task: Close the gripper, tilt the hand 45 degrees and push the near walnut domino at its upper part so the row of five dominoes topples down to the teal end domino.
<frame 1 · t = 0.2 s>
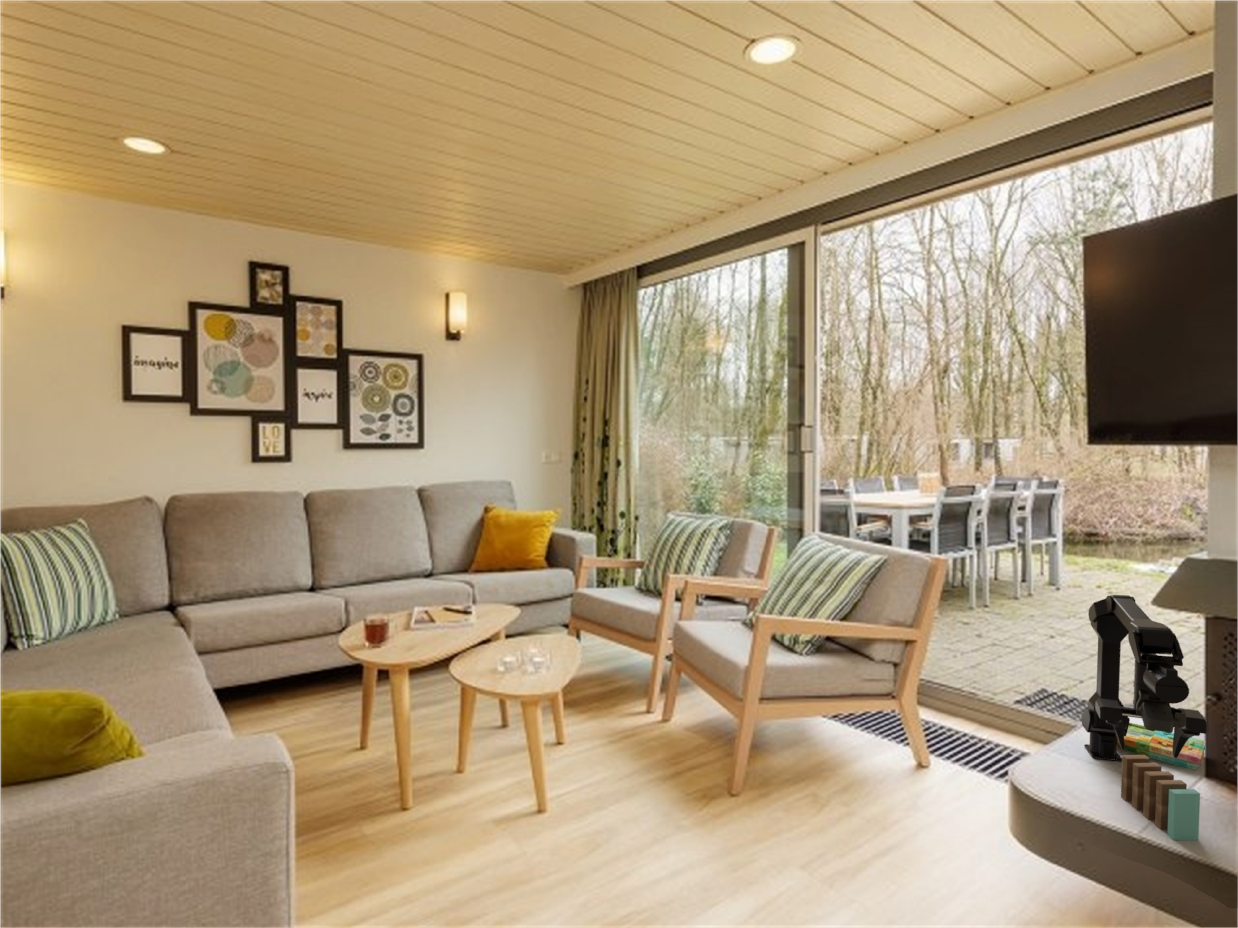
hand: (1148, 752, 149), 14 cm above the fireplace hearth, tool pointing down, fingers open, 9 cm apart
domino 1: (1134, 798, 157), on the fireplace hearth
domino 5: (1182, 837, 143), on the fireplace hearth
domino 2: (1145, 807, 153), on the fireplace hearth
puzzle game: (1152, 752, 177), on the fireplace hearth
domino 4: (1169, 827, 146), on the fireplace hearth
domino 3: (1157, 817, 150), on the fireplace hearth
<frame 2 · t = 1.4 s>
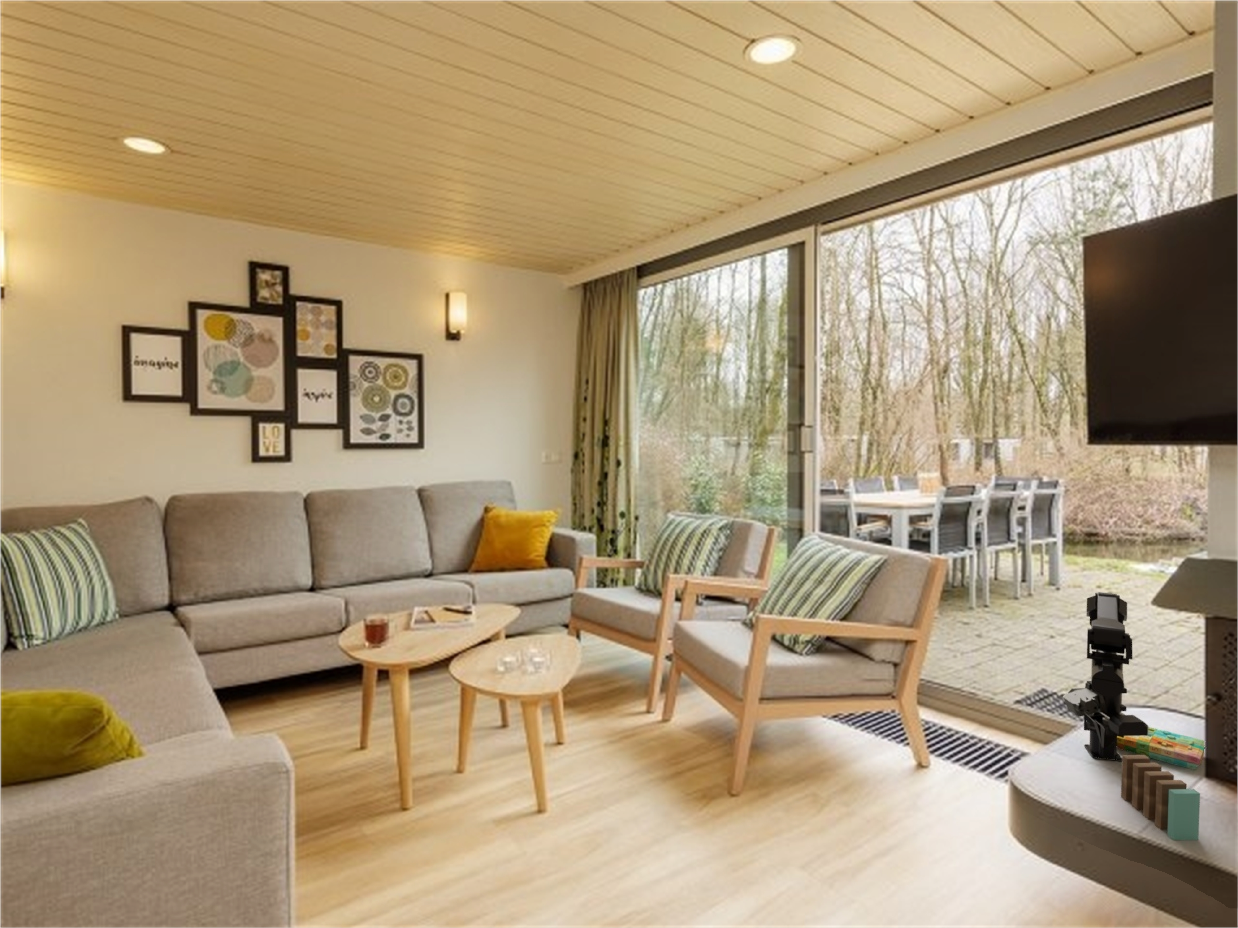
hand: (1104, 746, 157), 12 cm above the fireplace hearth, tool pointing down, fingers closed
nothing on the fireplace hearth moved.
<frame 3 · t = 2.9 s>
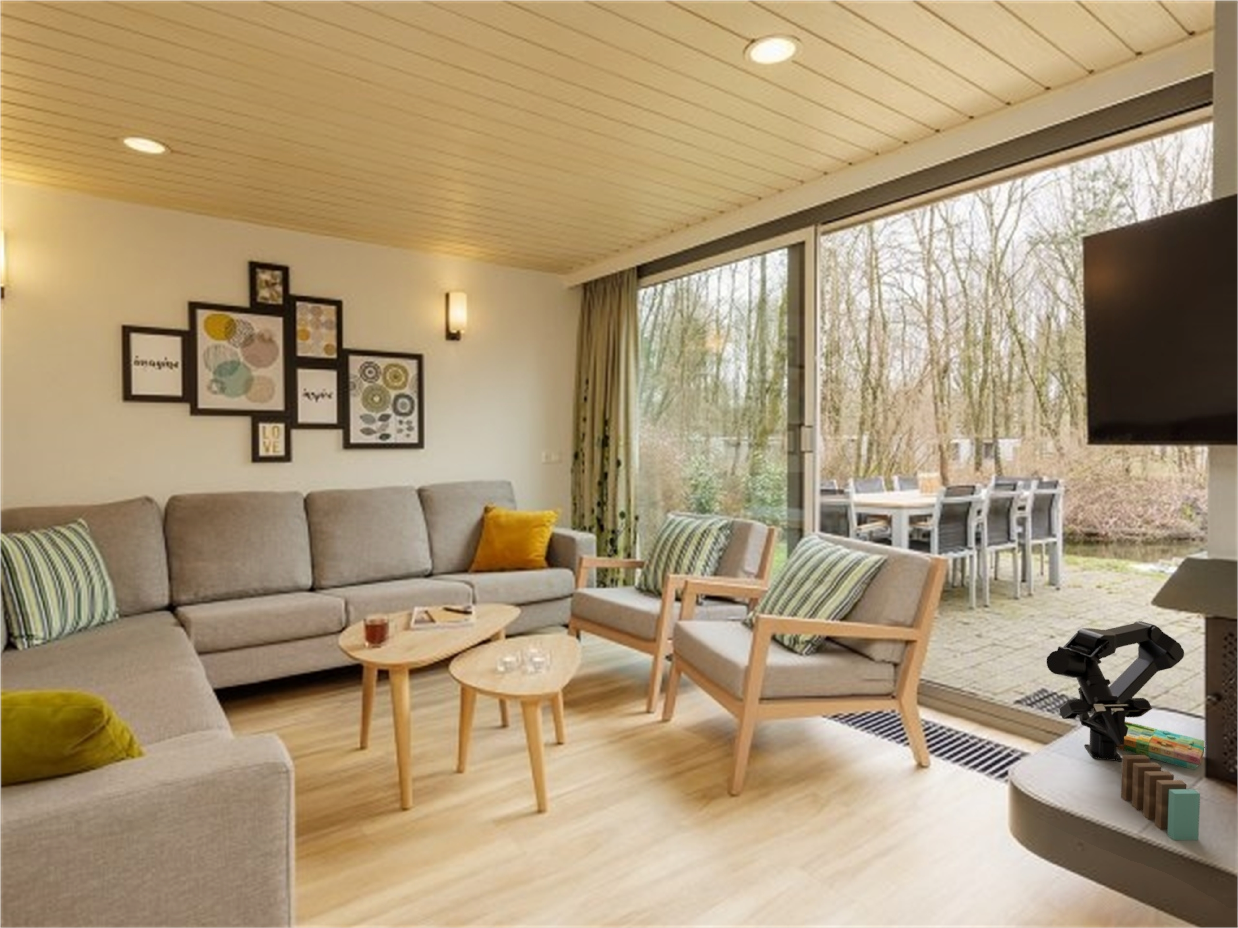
hand: (1121, 744, 161), 10 cm above the fireplace hearth, tool tilted 45°, fingers closed
nothing on the fireplace hearth moved.
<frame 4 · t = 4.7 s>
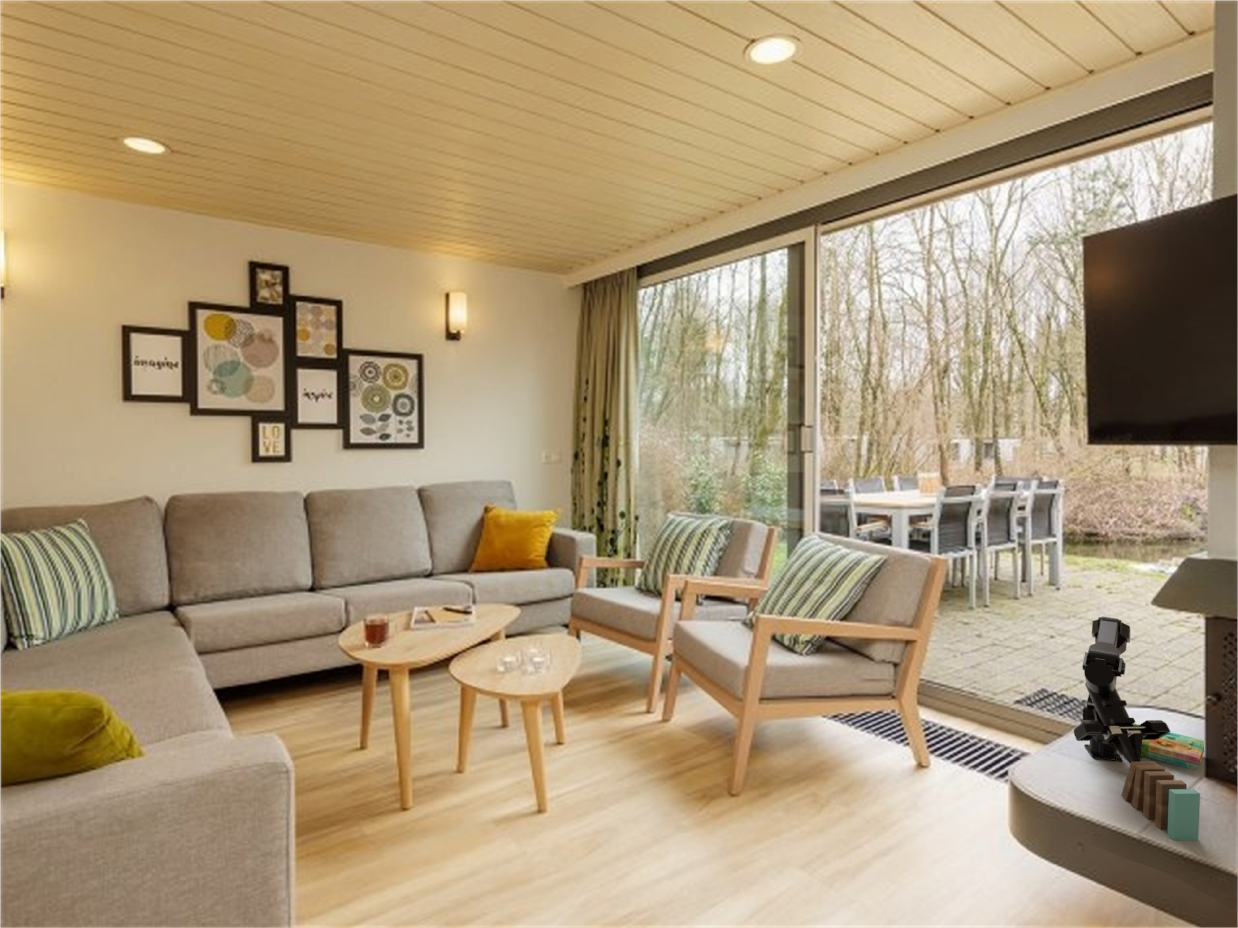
hand: (1138, 769, 155), 8 cm above the fireplace hearth, tool tilted 45°, fingers closed
domino 1: (1134, 797, 157), on the fireplace hearth, tilted 17°
domino 2: (1145, 807, 153), on the fireplace hearth, tilted 6°
everything else where it was.
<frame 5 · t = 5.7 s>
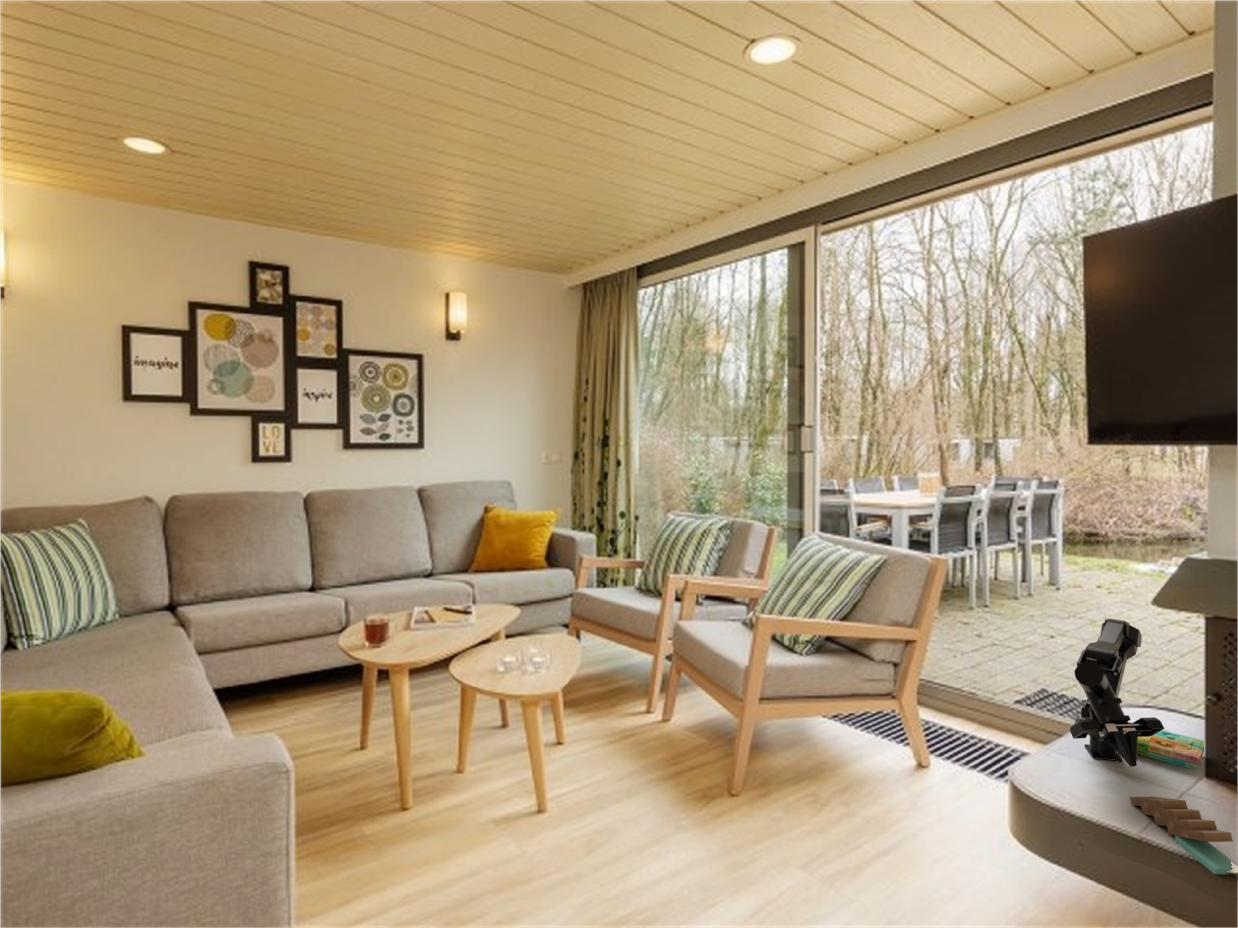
hand: (1133, 766, 157), 7 cm above the fireplace hearth, tool tilted 45°, fingers closed
domino 1: (1141, 800, 155), point 1 cm above the fireplace hearth, tilted 64°, touching domino 2
domino 5: (1187, 839, 141), on the fireplace hearth, tilted 90°, touching domino 4
domino 2: (1153, 809, 151), point 1 cm above the fireplace hearth, tilted 64°, touching domino 1, domino 3
domino 4: (1179, 829, 144), point 1 cm above the fireplace hearth, tilted 64°, touching domino 3, domino 5
domino 3: (1166, 819, 147), point 1 cm above the fireplace hearth, tilted 64°, touching domino 2, domino 4
everything else where it was.
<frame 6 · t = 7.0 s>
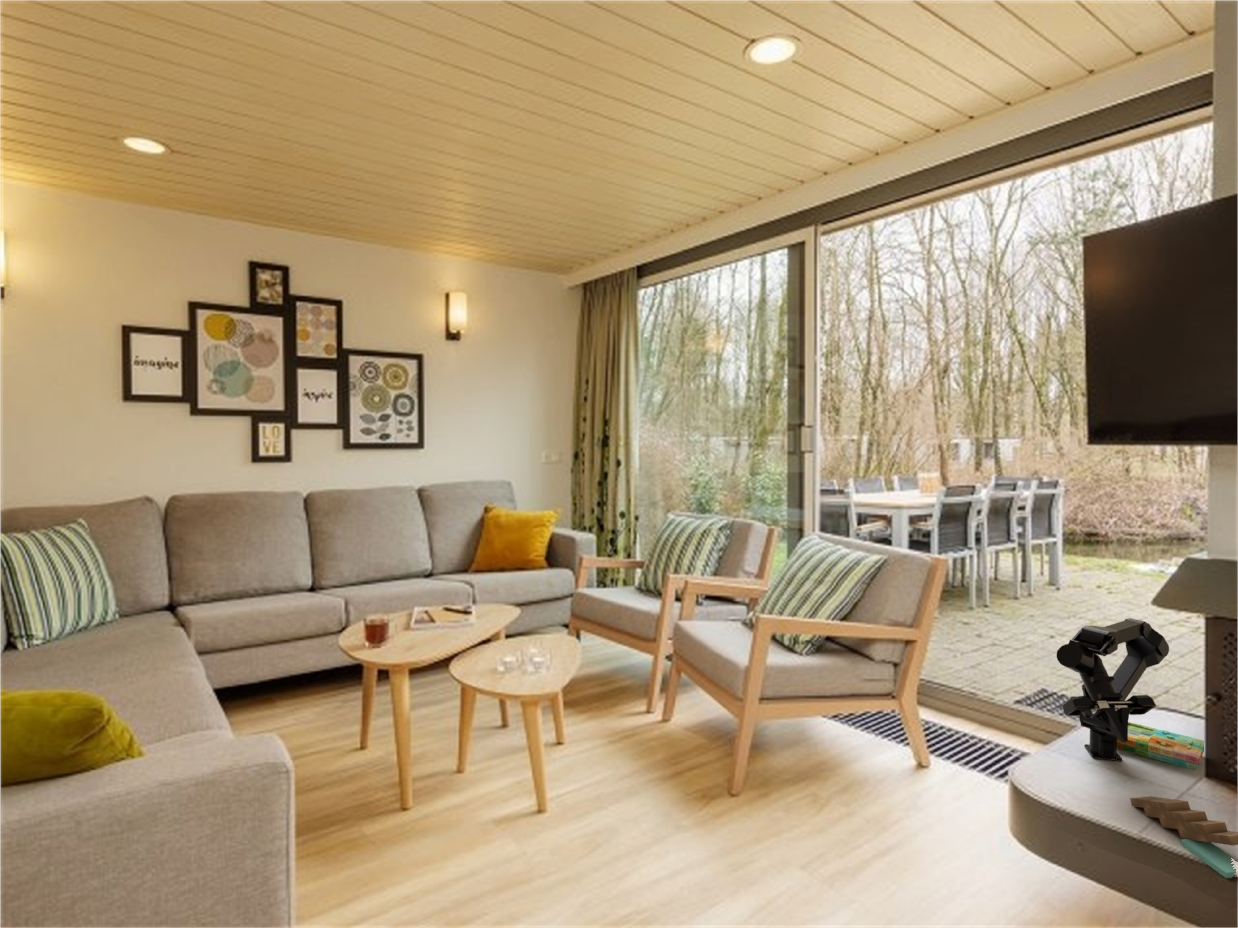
hand: (1125, 742, 159), 12 cm above the fireplace hearth, tool tilted 45°, fingers closed
domino 1: (1141, 800, 154), point 1 cm above the fireplace hearth, tilted 65°, touching domino 2
domino 2: (1155, 810, 151), point 1 cm above the fireplace hearth, tilted 65°, touching domino 1, domino 3
domino 4: (1187, 832, 143), point 1 cm above the fireplace hearth, tilted 66°, touching domino 3, domino 5
domino 3: (1170, 821, 147), point 1 cm above the fireplace hearth, tilted 65°, touching domino 2, domino 4
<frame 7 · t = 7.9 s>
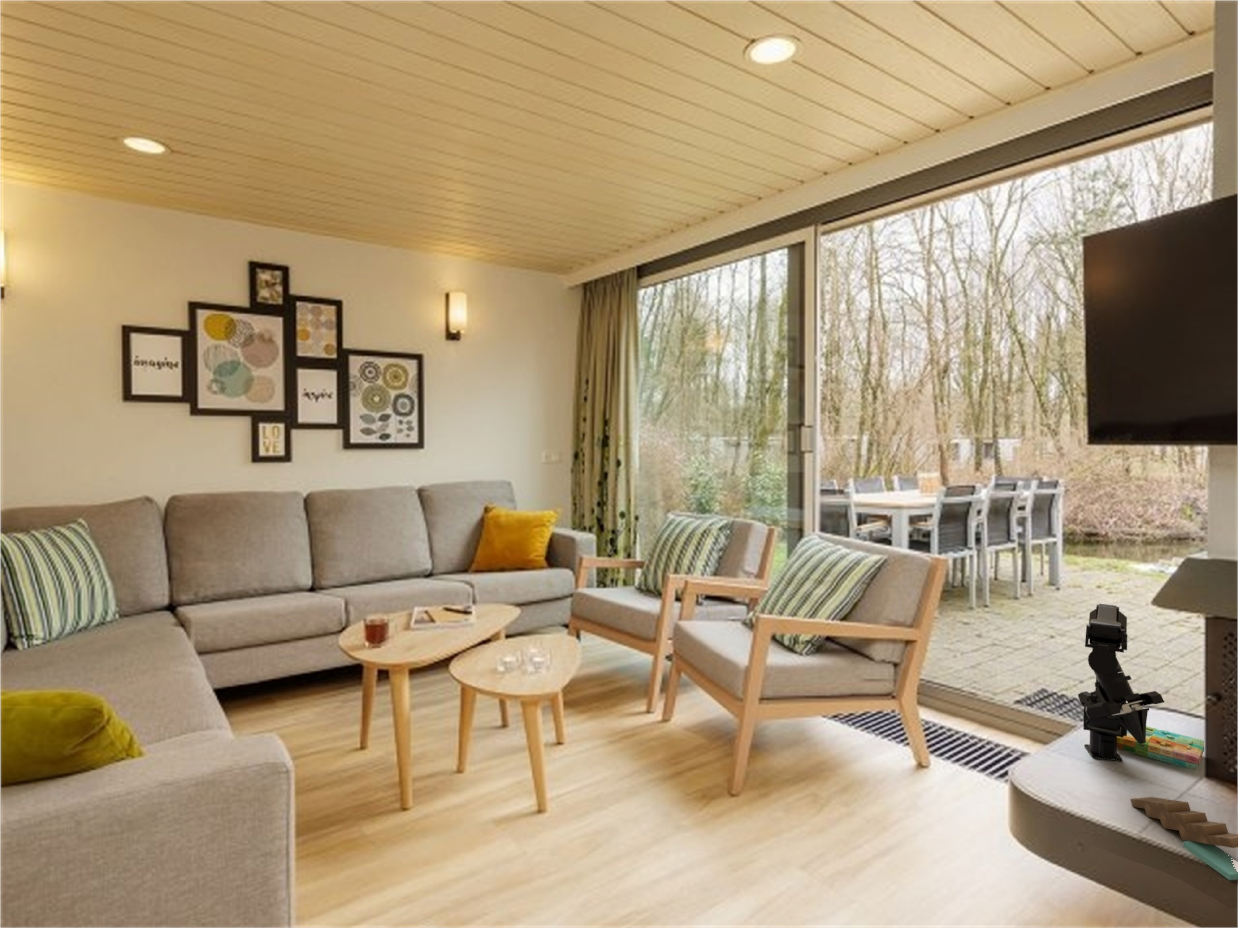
hand: (1142, 743, 159), 11 cm above the fireplace hearth, tool tilted 30°, fingers closed
domino 1: (1141, 801, 154), point 1 cm above the fireplace hearth, tilted 65°, touching domino 2
domino 4: (1189, 833, 142), point 1 cm above the fireplace hearth, tilted 66°, touching domino 3, domino 5
domino 3: (1171, 822, 146), point 1 cm above the fireplace hearth, tilted 65°, touching domino 2, domino 4
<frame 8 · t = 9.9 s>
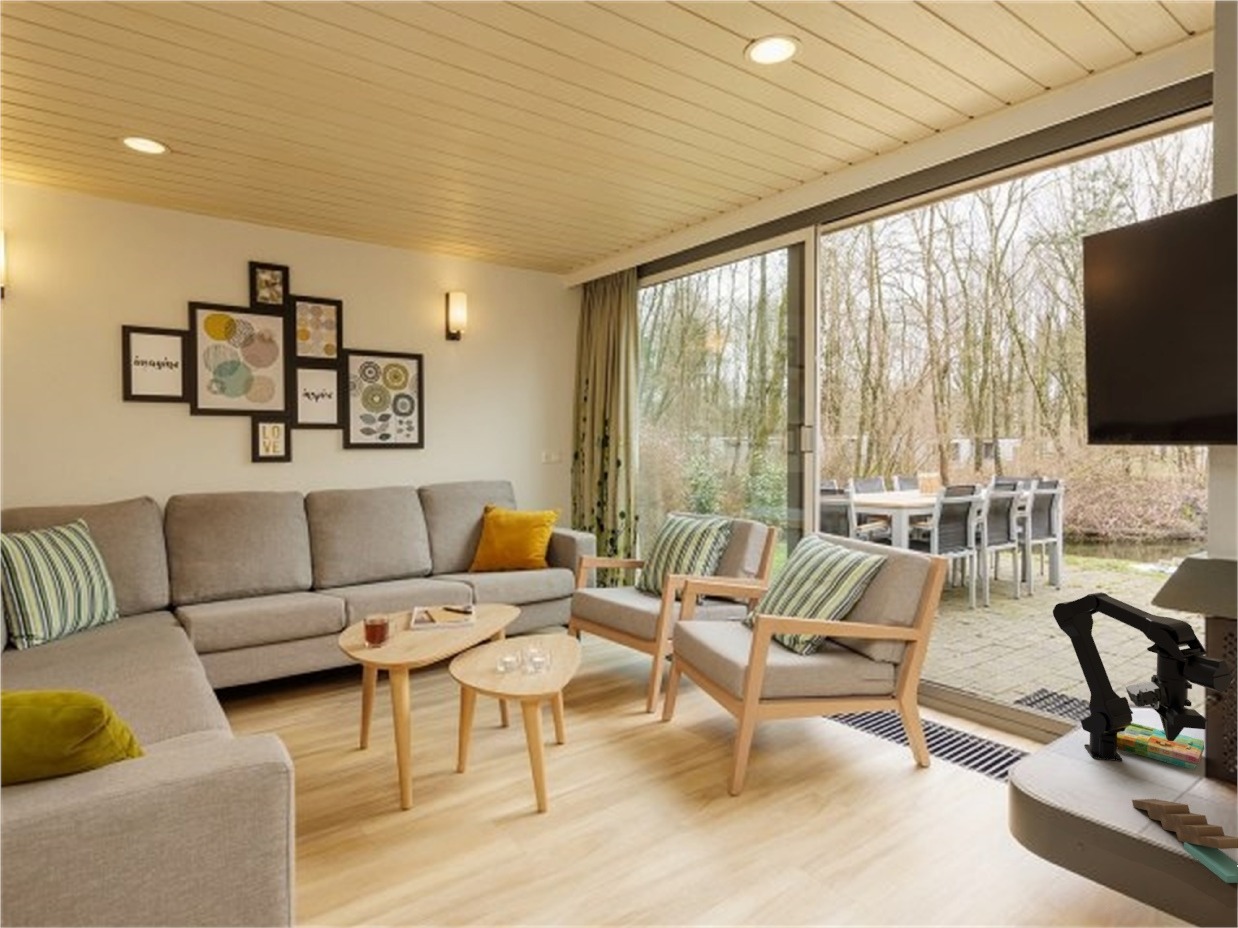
hand: (1170, 740, 160), 11 cm above the fireplace hearth, tool pointing down, fingers closed
domino 2: (1160, 813, 149), point 1 cm above the fireplace hearth, tilted 64°, touching domino 1, domino 3
domino 4: (1188, 835, 141), point 1 cm above the fireplace hearth, tilted 64°, touching domino 3, domino 5
domino 3: (1173, 824, 146), point 1 cm above the fireplace hearth, tilted 64°, touching domino 2, domino 4
at the end: domino 5 tilted 90°; domino 1 tilted 66° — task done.
